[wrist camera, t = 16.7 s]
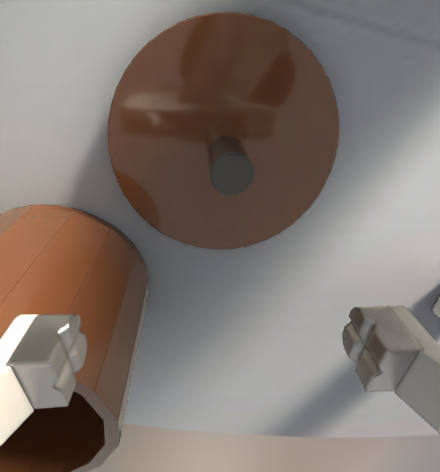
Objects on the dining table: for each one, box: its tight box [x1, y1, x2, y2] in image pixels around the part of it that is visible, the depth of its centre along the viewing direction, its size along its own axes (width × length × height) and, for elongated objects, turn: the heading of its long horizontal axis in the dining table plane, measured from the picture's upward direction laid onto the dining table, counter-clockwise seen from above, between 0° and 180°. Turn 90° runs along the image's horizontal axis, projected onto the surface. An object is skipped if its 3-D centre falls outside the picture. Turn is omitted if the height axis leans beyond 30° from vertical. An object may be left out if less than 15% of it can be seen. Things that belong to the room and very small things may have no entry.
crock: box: [0, 205, 149, 472], centre depth 21 cm, size 15×15×13 cm
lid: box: [108, 12, 339, 249], centre depth 19 cm, size 16×16×5 cm
